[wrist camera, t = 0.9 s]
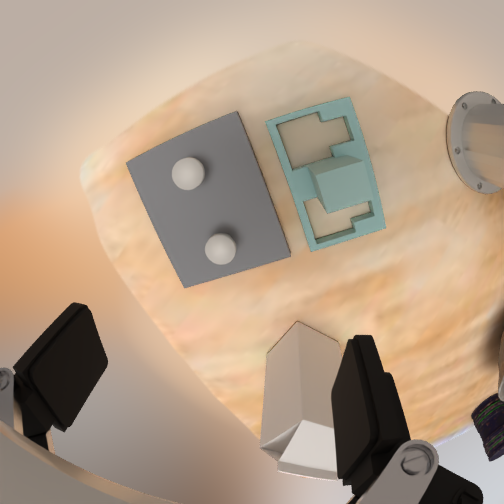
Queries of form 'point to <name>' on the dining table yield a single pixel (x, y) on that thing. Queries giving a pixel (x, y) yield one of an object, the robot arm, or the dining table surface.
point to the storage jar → (491, 425)
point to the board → (209, 202)
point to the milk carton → (301, 403)
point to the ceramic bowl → (501, 369)
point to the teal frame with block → (334, 176)
